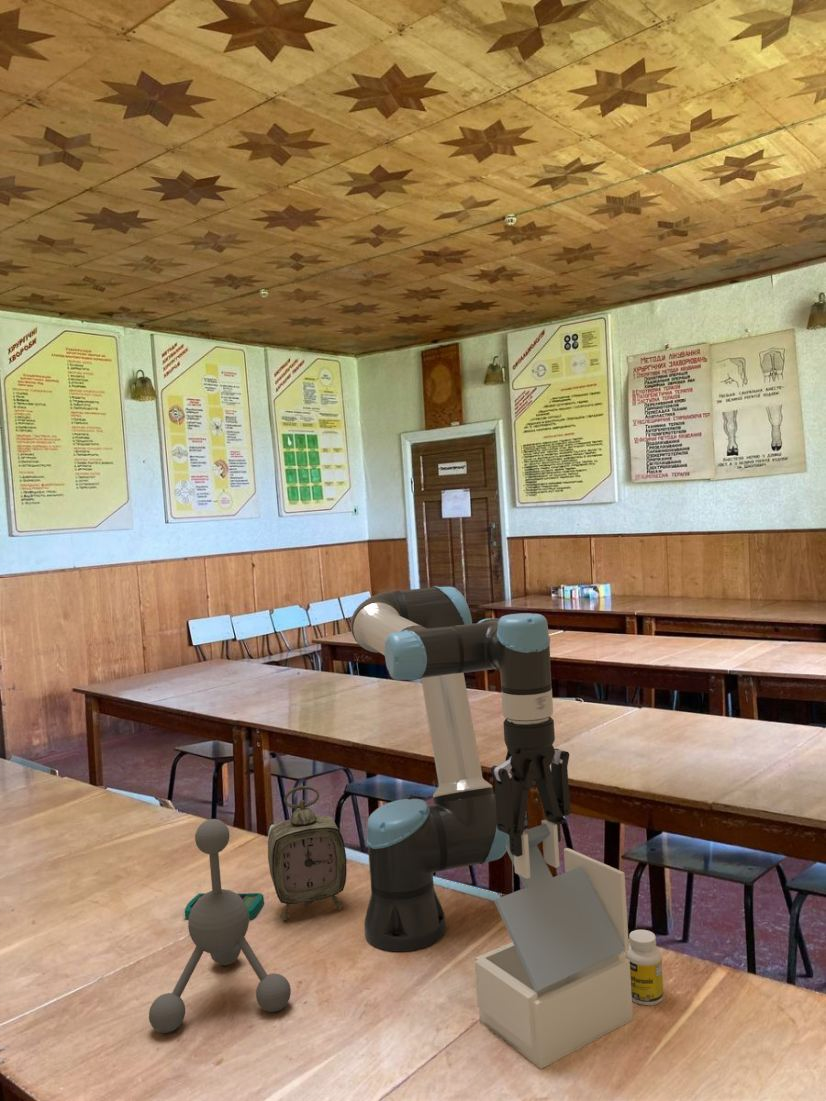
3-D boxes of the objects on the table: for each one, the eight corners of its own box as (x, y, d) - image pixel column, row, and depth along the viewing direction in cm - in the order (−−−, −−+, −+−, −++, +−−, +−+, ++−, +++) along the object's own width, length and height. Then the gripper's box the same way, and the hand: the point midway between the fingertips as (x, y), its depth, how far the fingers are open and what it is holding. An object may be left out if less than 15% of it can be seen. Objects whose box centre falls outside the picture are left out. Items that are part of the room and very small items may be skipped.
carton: (475, 1023, 130) (466, 881, 129) (572, 978, 140) (564, 846, 139) (536, 1071, 118) (526, 915, 117) (636, 1017, 129) (628, 874, 127)
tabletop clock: (276, 926, 165) (266, 798, 164) (270, 906, 174) (261, 785, 172) (350, 911, 169) (341, 786, 168) (341, 892, 178) (332, 773, 176)
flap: (473, 856, 129) (488, 842, 125) (558, 828, 138) (574, 813, 134) (535, 992, 119) (553, 980, 115) (622, 951, 128) (641, 940, 124)
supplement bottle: (622, 999, 133) (618, 938, 133) (636, 983, 138) (633, 923, 137) (655, 1010, 130) (652, 947, 130) (669, 993, 134) (665, 932, 134)
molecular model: (116, 1009, 141) (100, 829, 139) (231, 953, 156) (218, 791, 155) (190, 1069, 124) (173, 866, 122) (311, 1000, 139) (297, 819, 138)
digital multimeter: (196, 904, 178) (195, 891, 178) (265, 904, 176) (264, 890, 175) (182, 922, 171) (180, 907, 170) (253, 922, 168) (252, 907, 168)
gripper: (495, 734, 121) (505, 896, 122) (590, 710, 130) (598, 860, 132) (464, 724, 127) (474, 878, 128) (556, 702, 137) (565, 846, 138)
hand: (537, 869), depth 130 cm, fingers closed on flap, 5 cm apart
